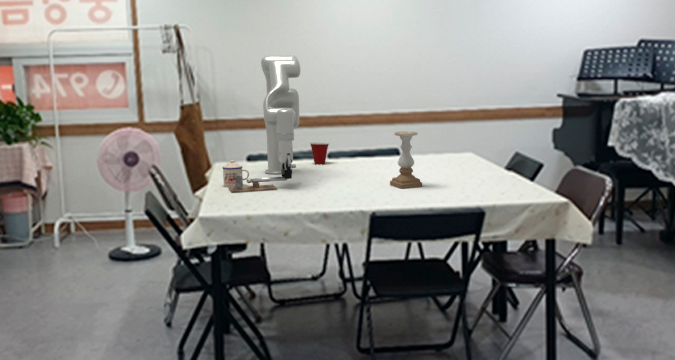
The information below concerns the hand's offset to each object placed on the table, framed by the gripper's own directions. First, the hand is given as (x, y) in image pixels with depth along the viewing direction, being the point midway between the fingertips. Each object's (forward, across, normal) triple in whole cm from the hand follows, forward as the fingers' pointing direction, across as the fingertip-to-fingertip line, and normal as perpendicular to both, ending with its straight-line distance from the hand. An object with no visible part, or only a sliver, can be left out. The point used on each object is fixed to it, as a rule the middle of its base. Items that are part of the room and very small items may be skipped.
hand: (286, 177), depth 304 cm
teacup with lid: (+5, -13, -21) cm, 25 cm away
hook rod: (+2, 0, -8) cm, 8 cm away
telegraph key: (+5, 0, -16) cm, 16 cm away
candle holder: (+5, +17, +50) cm, 53 cm away
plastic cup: (+5, -63, +32) cm, 71 cm away
